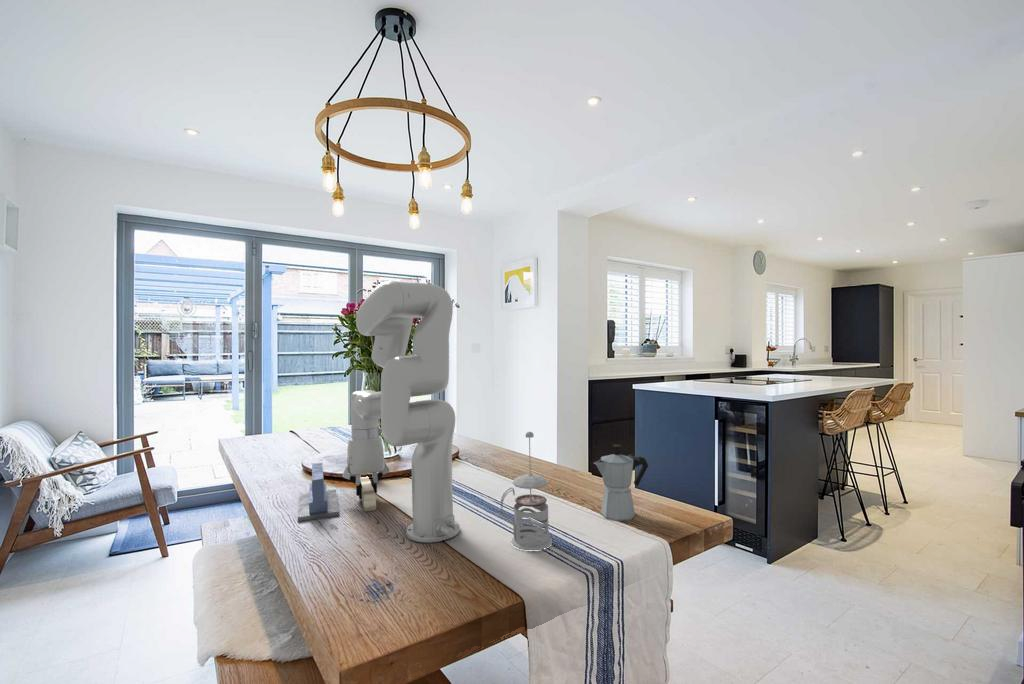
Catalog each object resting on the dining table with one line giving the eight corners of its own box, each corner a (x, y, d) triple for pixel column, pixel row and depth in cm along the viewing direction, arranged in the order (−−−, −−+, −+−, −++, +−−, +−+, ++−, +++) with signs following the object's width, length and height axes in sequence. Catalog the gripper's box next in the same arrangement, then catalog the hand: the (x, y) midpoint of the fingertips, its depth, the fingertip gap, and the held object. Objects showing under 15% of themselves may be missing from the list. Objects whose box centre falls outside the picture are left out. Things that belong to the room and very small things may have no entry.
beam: (376, 509, 131) (375, 495, 131) (364, 511, 130) (364, 496, 130) (368, 489, 149) (368, 476, 149) (358, 490, 148) (358, 477, 148)
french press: (557, 550, 104) (554, 435, 104) (503, 553, 103) (500, 437, 103) (549, 532, 114) (547, 426, 114) (500, 535, 113) (498, 428, 113)
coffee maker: (601, 523, 119) (599, 450, 118) (588, 511, 127) (587, 443, 127) (656, 517, 122) (655, 446, 121) (640, 505, 130) (639, 439, 130)
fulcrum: (339, 515, 127) (338, 478, 127) (297, 522, 123) (296, 483, 123) (335, 493, 146) (335, 460, 146) (299, 498, 142) (298, 464, 142)
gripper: (392, 428, 146) (393, 489, 146) (334, 433, 140) (336, 497, 140) (396, 433, 139) (397, 496, 139) (335, 438, 133) (337, 505, 133)
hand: (366, 496), depth 139 cm, fingers closed on beam, 2 cm apart
